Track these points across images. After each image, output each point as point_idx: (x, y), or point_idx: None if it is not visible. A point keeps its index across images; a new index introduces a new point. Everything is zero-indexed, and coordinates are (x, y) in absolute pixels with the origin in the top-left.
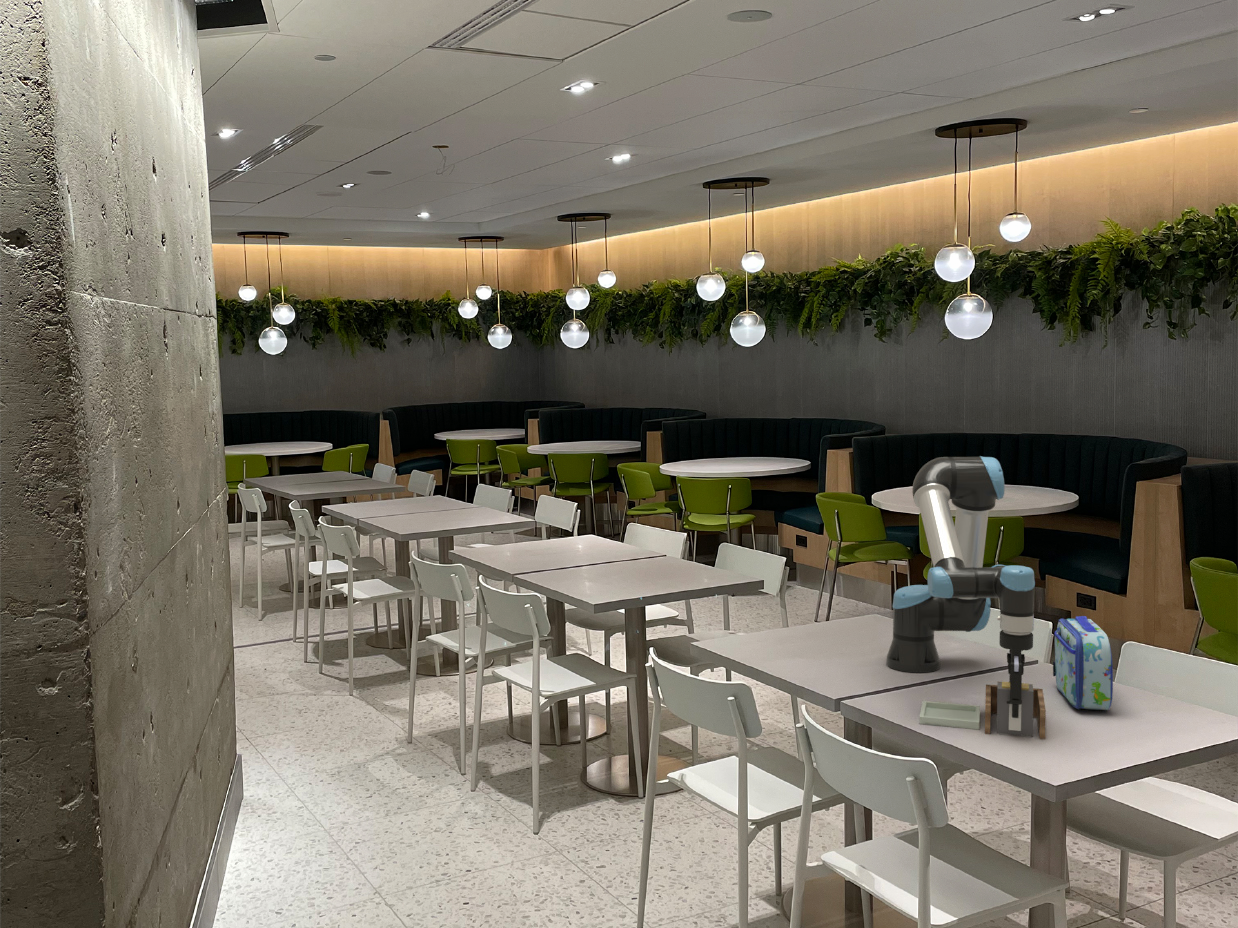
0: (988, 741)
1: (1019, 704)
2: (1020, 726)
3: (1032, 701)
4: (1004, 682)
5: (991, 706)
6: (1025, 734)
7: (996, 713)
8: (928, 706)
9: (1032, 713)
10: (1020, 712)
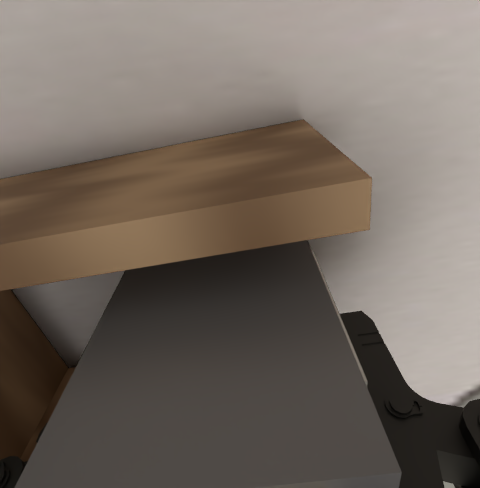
0: (410, 323)
1: (401, 391)
2: (318, 265)
3: (346, 341)
4: None
5: (53, 390)
6: None
7: (56, 352)
8: None
9: (312, 260)
10: (344, 327)
